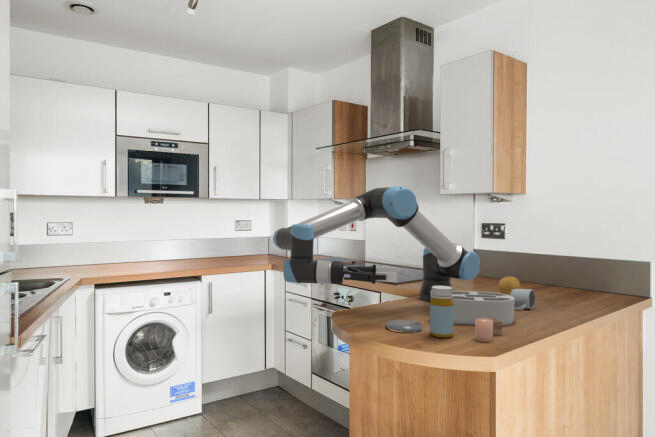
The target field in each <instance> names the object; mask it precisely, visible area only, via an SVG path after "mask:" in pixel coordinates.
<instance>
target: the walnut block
mask: <svg viewBox="0 0 655 437" xmlns="http://www.w3.org/2000/svg"><path fill="white" fill-rule="evenodd" d="M488 319H492V320H493V337H494V336H502V335H503V328H502V327H503V326H502V321H500V320H498V319H496V318H488Z"/></svg>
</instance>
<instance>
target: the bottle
mask: <svg viewBox="0 0 655 437" xmlns="http://www.w3.org/2000/svg"><path fill="white" fill-rule="evenodd" d="M452 289H453V286H452V287H449V286H432V298H431V301H429V333H430V335H431V336H432V335H433V336H432V337H434V336H436V337H435V338H438V337H444V338H443V339H447V338H446V337H450V338H452V336H453V335H454V324H453V316H454V304H453V300H452Z"/></svg>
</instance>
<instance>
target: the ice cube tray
mask: <svg viewBox="0 0 655 437" xmlns="http://www.w3.org/2000/svg"><path fill="white" fill-rule="evenodd" d="M430 295H431V298H432V290H430ZM452 300H453V304H454V316H453V325H466V324H467V325H469V326H470V325H471V326H475V319H476V318H496V319H498V320H500V321H502V327H503V326H508V325H509V326H510V325H511V324H513V322H514V319H515V310H514V304H515V298H514V297H513V296H510V295H506V294H501V292H489V291H466V290H465V291H462V290H453V291H452Z"/></svg>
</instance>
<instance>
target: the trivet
mask: <svg viewBox="0 0 655 437" xmlns="http://www.w3.org/2000/svg"><path fill="white" fill-rule="evenodd" d="M386 326H387V327H388V328H390V329H393V330H397V331H403V332H415V331H420V330H422V329H423V330H424V324H422V323H421V322H419V321H416V320H411V319H393V320H388V321H386V322H385V327H386ZM423 330H422V331H423ZM420 332H421V331H420Z"/></svg>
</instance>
